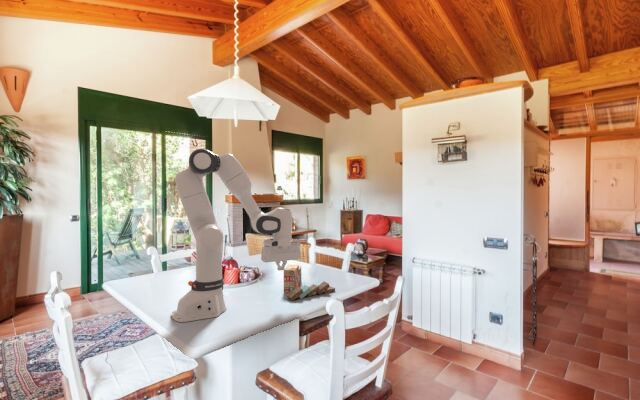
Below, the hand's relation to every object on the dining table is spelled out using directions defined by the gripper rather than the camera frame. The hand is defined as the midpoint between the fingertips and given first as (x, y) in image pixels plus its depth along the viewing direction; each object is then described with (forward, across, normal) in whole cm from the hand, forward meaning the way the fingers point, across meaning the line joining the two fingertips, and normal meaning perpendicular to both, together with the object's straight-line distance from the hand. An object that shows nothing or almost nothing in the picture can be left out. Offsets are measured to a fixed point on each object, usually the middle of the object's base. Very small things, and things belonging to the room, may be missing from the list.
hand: (280, 270), depth 156 cm
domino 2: (+14, -15, 0) cm, 21 cm away
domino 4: (+14, -25, +1) cm, 29 cm away
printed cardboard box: (+15, -19, -18) cm, 30 cm away
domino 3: (+13, -22, +1) cm, 25 cm away
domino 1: (+14, -5, 0) cm, 15 cm away
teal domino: (+14, -10, 0) cm, 17 cm away
